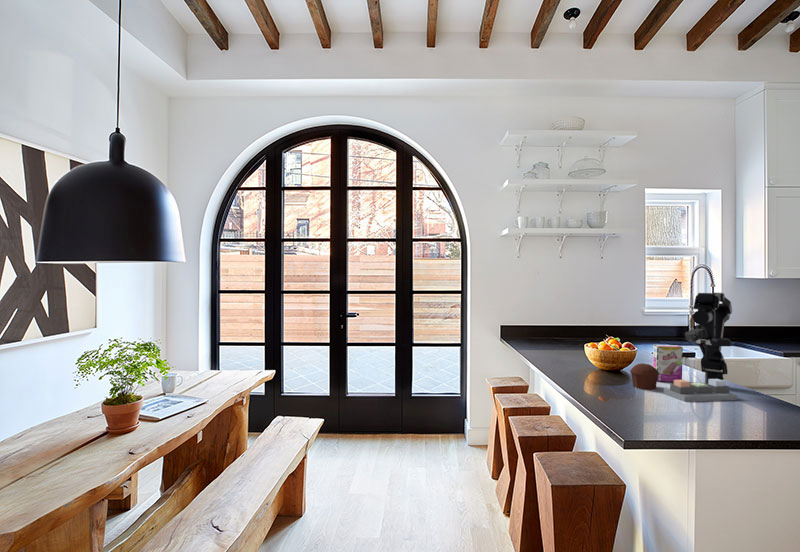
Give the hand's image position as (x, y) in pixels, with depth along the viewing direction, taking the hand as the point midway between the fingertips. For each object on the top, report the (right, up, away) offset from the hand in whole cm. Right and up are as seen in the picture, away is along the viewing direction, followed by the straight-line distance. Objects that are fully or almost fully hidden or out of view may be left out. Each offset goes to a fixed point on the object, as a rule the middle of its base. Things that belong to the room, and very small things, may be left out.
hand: (706, 360), depth 193 cm
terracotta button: (-16, -9, -9) cm, 20 cm away
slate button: (-1, -10, -7) cm, 12 cm away
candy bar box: (-5, -13, +20) cm, 24 cm away
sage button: (-8, -11, -8) cm, 16 cm away
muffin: (-22, -13, +8) cm, 27 cm away
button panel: (-8, -13, -8) cm, 17 cm away
